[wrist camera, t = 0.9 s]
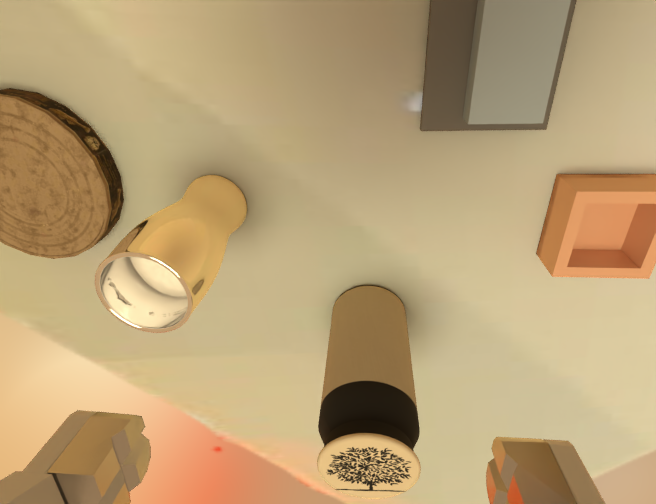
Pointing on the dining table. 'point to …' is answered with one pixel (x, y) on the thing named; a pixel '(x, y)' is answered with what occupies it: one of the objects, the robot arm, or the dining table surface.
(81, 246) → the wood slice coaster
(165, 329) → the beer glass
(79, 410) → the robot arm
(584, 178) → the orange frame
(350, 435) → the travel mug
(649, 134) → the dining table surface
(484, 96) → the slate board
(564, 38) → the mat
